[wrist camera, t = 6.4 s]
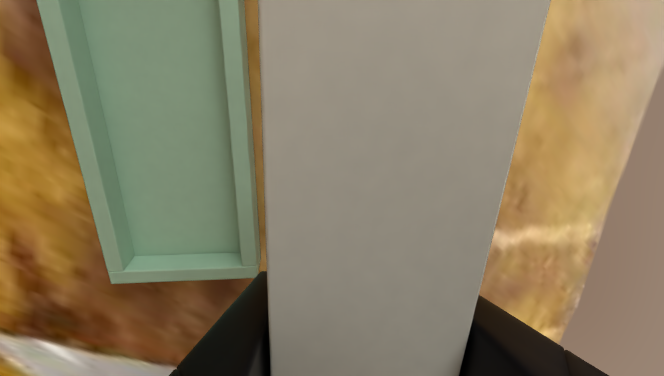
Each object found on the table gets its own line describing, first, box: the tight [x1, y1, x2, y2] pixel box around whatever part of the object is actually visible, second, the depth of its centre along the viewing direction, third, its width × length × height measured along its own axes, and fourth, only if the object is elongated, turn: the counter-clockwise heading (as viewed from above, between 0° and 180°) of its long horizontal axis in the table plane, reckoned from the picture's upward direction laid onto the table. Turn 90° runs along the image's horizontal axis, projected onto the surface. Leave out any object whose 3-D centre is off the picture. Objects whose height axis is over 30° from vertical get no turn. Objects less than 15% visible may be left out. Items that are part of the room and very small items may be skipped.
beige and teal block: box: [258, 0, 551, 376], centre depth 8 cm, size 13×4×4 cm, turn 178°
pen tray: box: [37, 0, 261, 284], centre depth 17 cm, size 18×8×2 cm, turn 179°
